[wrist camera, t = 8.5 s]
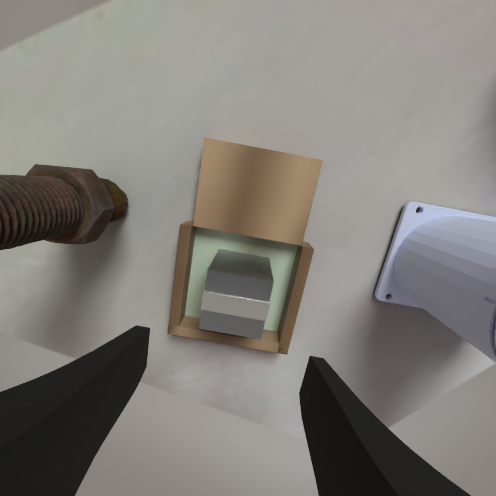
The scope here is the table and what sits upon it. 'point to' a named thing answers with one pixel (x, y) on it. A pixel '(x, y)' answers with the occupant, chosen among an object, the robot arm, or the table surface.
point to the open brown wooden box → (247, 235)
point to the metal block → (237, 294)
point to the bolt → (57, 206)
